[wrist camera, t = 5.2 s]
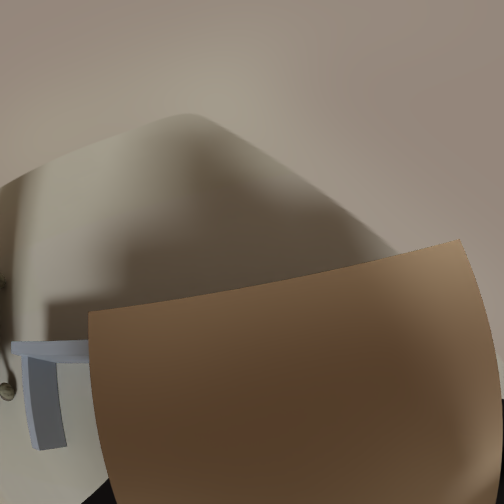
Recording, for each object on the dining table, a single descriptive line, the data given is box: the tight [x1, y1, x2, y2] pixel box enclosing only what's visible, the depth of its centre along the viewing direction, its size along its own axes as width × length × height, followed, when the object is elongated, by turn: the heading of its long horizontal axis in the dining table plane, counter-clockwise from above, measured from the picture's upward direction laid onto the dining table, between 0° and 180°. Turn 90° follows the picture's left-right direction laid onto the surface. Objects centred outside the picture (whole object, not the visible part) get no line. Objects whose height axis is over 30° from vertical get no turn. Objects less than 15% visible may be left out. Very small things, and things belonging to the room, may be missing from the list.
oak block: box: [88, 239, 503, 504], centre depth 8 cm, size 6×6×12 cm
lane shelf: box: [11, 339, 89, 450], centre depth 11 cm, size 7×22×4 cm, turn 100°
